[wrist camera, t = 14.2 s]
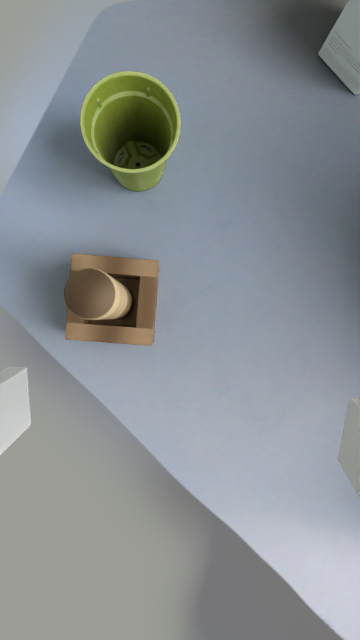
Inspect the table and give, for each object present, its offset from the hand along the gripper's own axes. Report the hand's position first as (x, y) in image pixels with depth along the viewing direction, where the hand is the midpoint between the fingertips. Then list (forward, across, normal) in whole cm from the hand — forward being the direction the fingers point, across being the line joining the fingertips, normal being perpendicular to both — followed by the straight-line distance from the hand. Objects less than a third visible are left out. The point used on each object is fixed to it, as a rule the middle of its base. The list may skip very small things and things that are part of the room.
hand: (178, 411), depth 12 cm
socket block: (+24, -10, 0) cm, 26 cm away
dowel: (+23, -10, 0) cm, 25 cm away
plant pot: (+29, -9, +16) cm, 34 cm away
